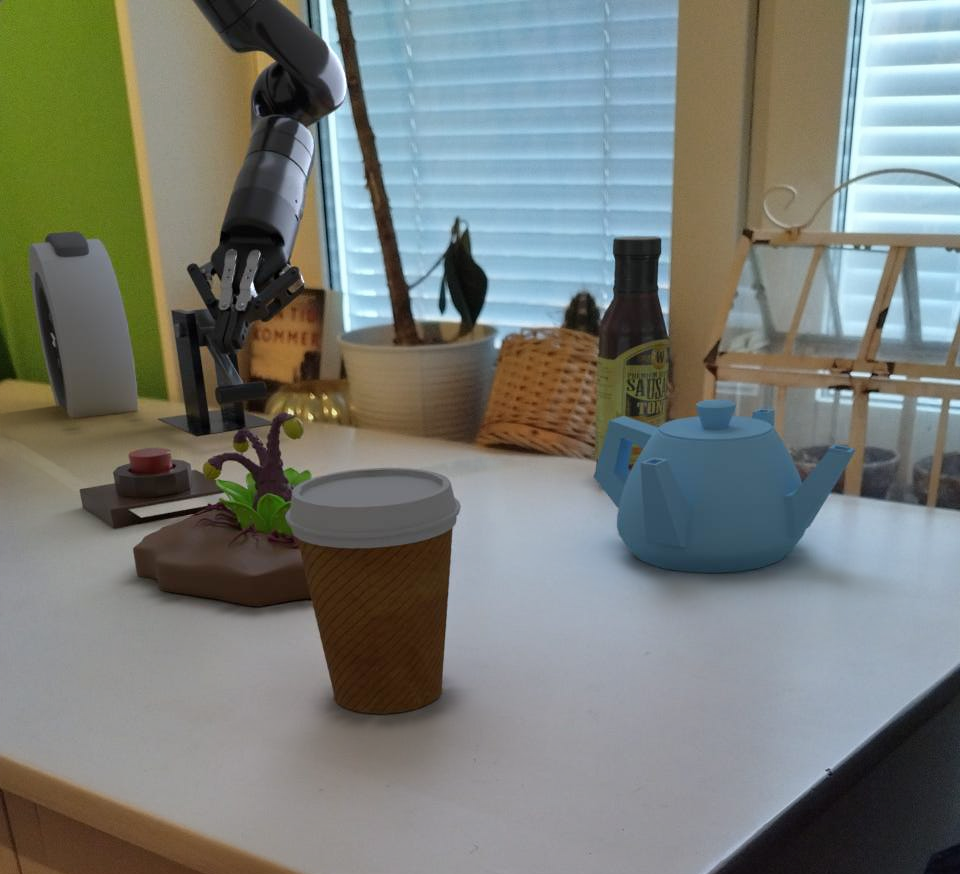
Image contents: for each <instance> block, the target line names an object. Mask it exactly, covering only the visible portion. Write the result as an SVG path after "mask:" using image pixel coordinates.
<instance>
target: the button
mask: <svg viewBox="0 0 960 874" xmlns="http://www.w3.org/2000/svg"><path fill="white" fill-rule="evenodd" d="M172 459H173V458H172V452H171V450H170V449H169V448H165V447H148V448H147V447H145V448H141V449H136V450H133V451H130V452H128V461H129V463H130V467H131V473H138V474H145V473H158V472H164V471H168V470H171V469H173V465H172Z"/></svg>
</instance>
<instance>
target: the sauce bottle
mask: <svg viewBox="0 0 960 874" xmlns="http://www.w3.org/2000/svg"><path fill="white" fill-rule="evenodd" d="M612 241H613V243H612V255H613V258H614V273H613V276H614V280H613V287H612V290H613V298H612V300H611V301H610V302H609V303H610V304H609V305H608V307H607V308H606V310H605V311H604V314H603V316H602V317H601V320H600V325H599V330H598V354H597V356H596V358H597V359H596V394H595V396H596V398H595V423H594V424H595V426H594V427H595V430H594V458H595V459H596V462H595V463H596V465H595V468H596V467H597V463H598V460H599V456H600V453H601V449H602V446H603V442H604V439H605V435H606V432H607V428H608V425H609V422H610V420H613V419H616V418H619V417H622V416H626V417H629V418H632V419H634V420H637V421H640V422H643V423H646V424H649V425H652V426H655V427H660V426H661V425H662V424H664V423H666V422H667V404H668V388H669V387H668V386H669V363H670V343H671V342H670V341H671V340H670V337H669V334H668V331H667V326H666V322H665V317H664V314H663V309H662V305H661V301H660V297H659V284H658V282H659V262H660V257H661V255H662V238H661V237H660V236H655V235H654V236H650V235H649V236H646V235H645V236H641V235H640V236H638V235H637V236H618V237H614V238H613V239H612ZM643 449H644V448H642V447H640V446H638V445H636V444H634V443H633V445H632V450H631V455H630V460H629V464H628V469H629V470H630V471H631V469H632V468H633V466H634V464H635V462H636V460H637V459H638V457H639V455H640V454H641V452H642V450H643Z"/></svg>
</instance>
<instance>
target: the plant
mask: <svg viewBox="0 0 960 874" xmlns="http://www.w3.org/2000/svg"><path fill="white" fill-rule="evenodd" d="M271 422H273V423H272V424H271V425H270V428H269V432H268V434H267V436H266V439H267V442H265V443H266V444H265V445H264V442H263V441H262V439H260V438H259V436H258V435H256V433H255V432H252V430H251V428H249V429H247V428H246V429H245V428H243V429H241V430H237V432H236V433H235V434H234V436H233V440H232V446H233V448H234V450H235V451H236V452H224V453H221V454H217V455H213V456H212V457H210V458H208V459H207V461H205V462H204V463H203V466H202V473H203V474H204V475H205V479H215V480H216V485H217V486H218V487H220V488H221V489H222V490H223V491H224V494H225V495H226V496H227V498H228V499H225V498H224V497H219V498H218V501H217V502H216V503H215V506H212V505H213V504H212V503H211V502H208V503H207V505H206V506H207V508H206V509H204V508H202V507H203V506H198V507H199V508H202V509H204V510H203V511H200V512H199V511H198V513H196V514H193V515H189V516H188V517H186V518H184V519H182V520H179V521H177V522H174V523H171V524H167V525H165V526H163V527H161V528H160V529H158V530H156V531H153V532H151V533H149V534H147V535H146V536H144V537H143V538H142V540H141V541H140V542H139V543H138V544H136V545H135V546H133V548H132V551H133V552H132V553H133V559H134V565H135V570H136V571H135V572H136V575H137V576H139V577H142V578H150V579H155V580H157V584H158V587H159V589H160V590H162V591H166V592H169V593H175V594H183V595H187V596H188V595H189V596H193V597H202V598H206V599H214V600H220V601H224V602H228V603H234V604H239V605H243V606H249V607H264V606H270V605H276V604H280V603H285V602H291V601H297V600H308V599H309V600H310V599H311V596H310V591H309V587H308V583H307V578H306V574H305V569H304V566H303V562H302V557H301V553H300V548H299V544H298V540H297V537H295V536H294V534H293V532H292V528H291V527H290V525H289V524H288V523H287V521H286V517H285V516H286V513H287V511H288V510H289V509H290V507H291V497H292V490H293V489H294V488H295V487H296V486H297V485H298V484H300V483H302V482H304V481H306V480H309V479H312V472H311V470H310V469H306V470H303V471H301V472H299V471H298V470H297V469H296V468H294V467H291V466H289V467H288V468H286V469H284V468H283V467H284V461H283V459H282V458H281V457H282V451H281V450H280V443H281V441H280V440H281V439H280V434H281V427H282V430H283V432H284V434H285V435H286V437H288V438H289V439H292V440H300V439H301V437H302V436H303V435H304V433H305V429H304V424H303V423H302V421H301V419H299V418H298V417H297V416H296V414H295V415H294V414H292V413H288V412H286V411H285V412H279V413H278V414H277V415H276V416H275V417H273V418H272V421H271ZM250 443H251V447H252V449H254V450H255V453H256V455H257V458H258V461H259V464H257V463H256V462H254V461H252V459H251V458H249V457H247V456H246V455H244V453H246V452H248V450H249V448H250ZM229 461H230V462H231V461H232V462H237V463H238V464H240V465H241V466H242V467H244V468H245V469H246V470H247V471H248V473H247V474H246V475H245V482H246V486H247V487H245V486H243V485H241V484H239V483H238V482H234V481H231V480H223V479H219V477H220V476H221V474H222V471H223V465H224V463H225V462H229ZM209 505H210V506H209Z"/></svg>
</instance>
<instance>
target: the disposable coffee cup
mask: <svg viewBox="0 0 960 874" xmlns="http://www.w3.org/2000/svg"><path fill="white" fill-rule="evenodd" d="M452 486H453V485H452V482H451V481H450V479H449V478H448V477H447V476H445V475H443V474H442V473H439V472H435V471H430V470H427V469H421V468H409V467H370V468H357V469H350V470H349V469H348V470H342V471H336V472H332V473H327V474H322V475H319V476H314V477H311V479H309V480H306V481H304V482H302V483H300V484H298V485H297V486H296V487H295V488H294V489H293V490H292V497H291V507H290V509H289V510H288V511H287V513H286V516H285V517H286V521H287V523H288V524H289V525H290V527H291V528H292V532H293V534H294V536H295V537H297V540H298V544H299V548H300V553H301V557H302V562H303V566H304V569H305V574H306V578H307V583H308V587H309V591H310V596H311V598H310V599H311V603H312V608H313V611H314V612H313V613H314V616H315V621H316V625H317V629H318V633H319V637H320V640H321V647H322V650H323V654H324V658H325V663H326V667H327V671H328V675H329V679H330V683H331V687H332V692H333V697H334V700H335V702H336V703H337V704H338V705H340V706H341V707H343V708H346V709H347V710H350V711H353V712H354V711H355V712H359V713H365V714H379V715H380V714H384V715H385V714H393V713H395V714H396V713H403V712H407V711H411V710H416V709H419V708H421V707H424V706H426V705H429V704H430V703H432V702H434V701H435V700H437V699H438V698H439V697H440V695H441V694H442V691H443V677H444V661H445V660H444V659H445V647H446V632H447V620H448V605H449V604H448V602H449V589H450V575H451V563H452V562H451V561H452V545H453V529H454V527H455V526H456V523H457V519H458V517H457V516H459V514H460V511H461V507H462V505H461V503H460V501H459V499H457V498H456V497H455V495H454V490H453V487H452Z"/></svg>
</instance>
